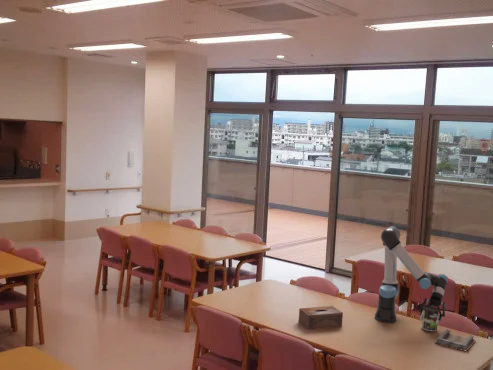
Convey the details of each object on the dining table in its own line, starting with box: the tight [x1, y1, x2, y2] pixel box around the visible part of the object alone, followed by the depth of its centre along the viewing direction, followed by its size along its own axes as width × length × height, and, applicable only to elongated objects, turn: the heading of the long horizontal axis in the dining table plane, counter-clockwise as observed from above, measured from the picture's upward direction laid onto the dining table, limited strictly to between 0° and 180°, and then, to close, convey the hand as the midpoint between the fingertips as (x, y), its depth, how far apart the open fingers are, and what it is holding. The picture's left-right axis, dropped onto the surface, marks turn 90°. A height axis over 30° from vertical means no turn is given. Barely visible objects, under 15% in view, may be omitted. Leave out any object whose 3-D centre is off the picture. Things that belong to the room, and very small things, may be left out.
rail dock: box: [434, 328, 476, 352], centre depth 348 cm, size 20×22×4 cm
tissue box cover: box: [298, 305, 344, 330], centre depth 369 cm, size 26×14×10 cm, turn 110°
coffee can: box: [421, 305, 440, 332], centre depth 368 cm, size 10×10×14 cm
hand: (428, 322), depth 366 cm, fingers closed on coffee can, 10 cm apart
